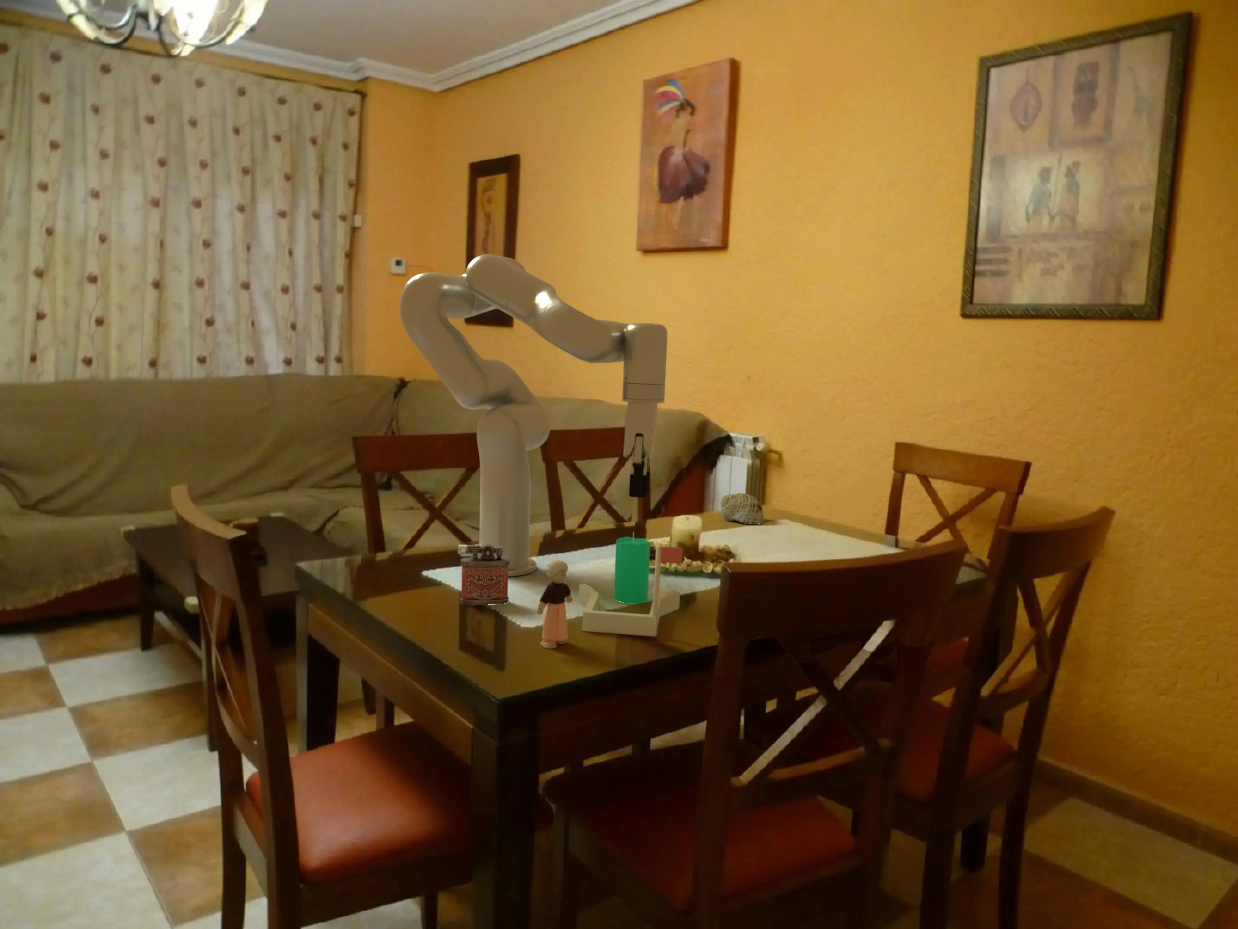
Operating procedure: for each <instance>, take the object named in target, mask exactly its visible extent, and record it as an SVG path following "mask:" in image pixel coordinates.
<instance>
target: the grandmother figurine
mask: <svg viewBox="0 0 1238 929" xmlns="http://www.w3.org/2000/svg"><path fill="white" fill-rule="evenodd" d="M568 570H569V565H568V564H567V563H566V562H565V561H564V560H560V559H557V558H556V559H555V560H552V561H551V562H549V563H548V564H547V565H546V567H545V572H546V575H547V577H548V578H549V580H550V583H549V584H547V586H546V588H545V590H544V592H543V593H542V595H541V597H540V599H539V603H538V605H537V609H536V610H535V612H536V614H537V615H540V616H541V615H543V613H544V610H545V608H546V607H547V609H546V612H545V614H544V618H543V625H542V626H543V627H542V636H541V638H542V639H543V640H541V642H540V644H539V645H540V646H542V647H543V648H545V649H550V650H551V649H555V648H557V647H558V645H563V644H567V643H568V639H569V635H568V634H569V632H568V621H567V620H568V619H567V611H566V603H568V604H570V603H572V602H573V597H572V593H571V592H572V590H571V589H570V587H569V585H568V583H565V581H566V579H567V572H568Z"/></svg>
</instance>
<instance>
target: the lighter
mask: <svg viewBox="0 0 1238 929" xmlns="http://www.w3.org/2000/svg"><path fill="white" fill-rule="evenodd" d="M466 545H467V546H466V548H465V553H466V554H473V557H464V558H461V559H460V565H461V596H460V602H459V604H461V605H462V604H463V605H462V606H474V605H488V604H504V603H507V602H508V601H510V600H509V596H508V594H509V591H508V590H509V589H508V588H509V576H508V565H509V562H510V559H508V558H501V556H502V552H503V547H502V546H491V544H485V545H484V546H480V545H475V544H474V545H473V544H466ZM478 554H481V556H480V557H478ZM494 554H496V555H497V557H495V555H494ZM508 603H509V602H508Z"/></svg>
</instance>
